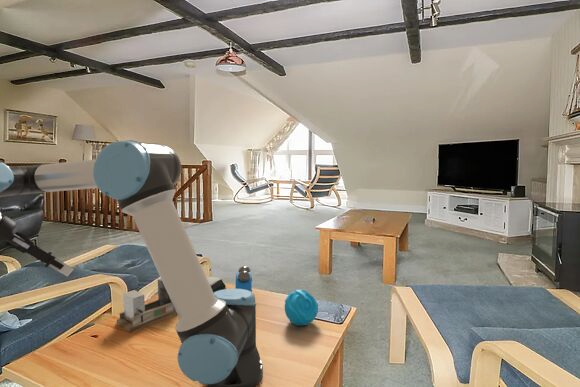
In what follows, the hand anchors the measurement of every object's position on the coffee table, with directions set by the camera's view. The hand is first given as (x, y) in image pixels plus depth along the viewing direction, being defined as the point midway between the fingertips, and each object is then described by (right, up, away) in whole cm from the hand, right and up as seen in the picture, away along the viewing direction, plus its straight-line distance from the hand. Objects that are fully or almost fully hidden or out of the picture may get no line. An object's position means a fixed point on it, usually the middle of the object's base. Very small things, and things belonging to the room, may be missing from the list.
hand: (68, 271), depth 99 cm
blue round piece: (+70, -23, +18) cm, 76 cm away
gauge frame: (+15, -22, +22) cm, 35 cm away
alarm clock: (+48, -21, +32) cm, 62 cm away
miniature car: (+32, -21, +38) cm, 54 cm away
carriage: (+13, -21, +17) cm, 29 cm away
